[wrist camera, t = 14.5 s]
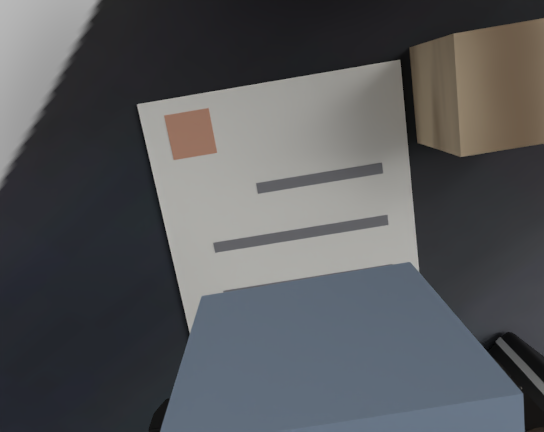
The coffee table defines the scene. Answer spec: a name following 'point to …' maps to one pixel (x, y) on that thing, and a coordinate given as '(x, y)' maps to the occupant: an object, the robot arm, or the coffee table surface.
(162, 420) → the robot arm
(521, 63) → the oak block
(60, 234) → the coffee table surface
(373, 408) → the blue cube
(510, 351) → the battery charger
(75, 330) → the coffee table surface
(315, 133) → the letter
